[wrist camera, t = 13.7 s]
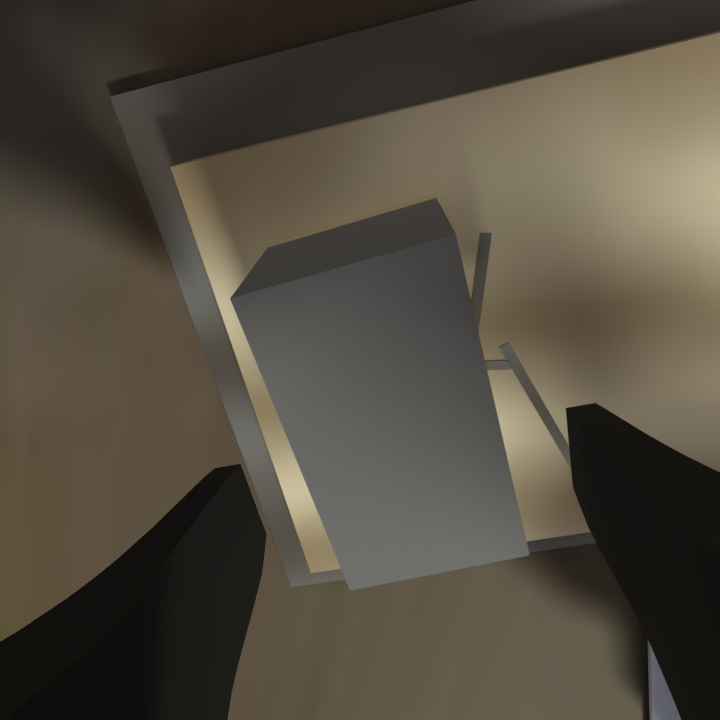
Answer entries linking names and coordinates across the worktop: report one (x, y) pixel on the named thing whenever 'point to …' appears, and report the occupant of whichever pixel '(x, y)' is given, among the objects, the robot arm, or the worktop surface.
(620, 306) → the pine board
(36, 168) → the worktop surface
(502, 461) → the block
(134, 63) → the worktop surface
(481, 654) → the worktop surface
